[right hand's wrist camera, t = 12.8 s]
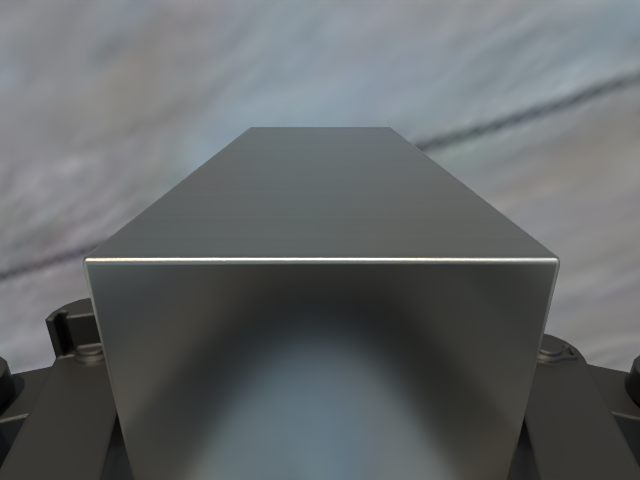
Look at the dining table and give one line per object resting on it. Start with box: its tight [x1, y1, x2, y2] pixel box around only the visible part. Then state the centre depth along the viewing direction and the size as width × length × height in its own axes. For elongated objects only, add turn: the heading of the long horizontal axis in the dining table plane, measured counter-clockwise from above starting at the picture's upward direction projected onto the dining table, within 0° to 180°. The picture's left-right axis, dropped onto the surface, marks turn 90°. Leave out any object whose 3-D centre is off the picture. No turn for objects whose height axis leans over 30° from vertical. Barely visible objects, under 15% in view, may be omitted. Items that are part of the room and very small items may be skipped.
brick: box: [83, 127, 560, 480], centre depth 11 cm, size 8×5×12 cm
